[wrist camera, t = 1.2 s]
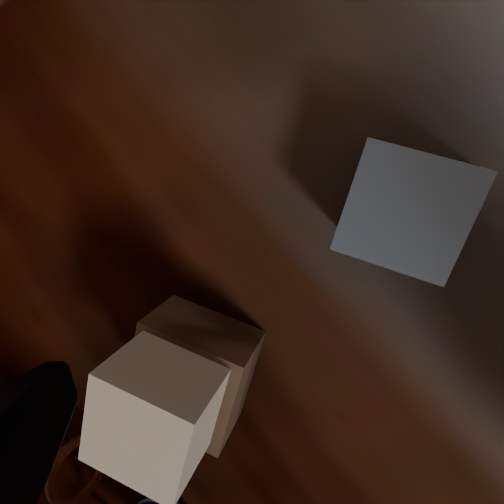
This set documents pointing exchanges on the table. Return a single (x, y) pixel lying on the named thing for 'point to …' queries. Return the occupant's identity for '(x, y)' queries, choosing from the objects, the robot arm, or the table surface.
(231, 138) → the table surface
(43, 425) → the robot arm
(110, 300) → the table surface
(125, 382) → the cream block
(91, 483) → the glasses
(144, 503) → the beverage can
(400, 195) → the slate block
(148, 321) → the grey-brown square block
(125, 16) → the table surface
